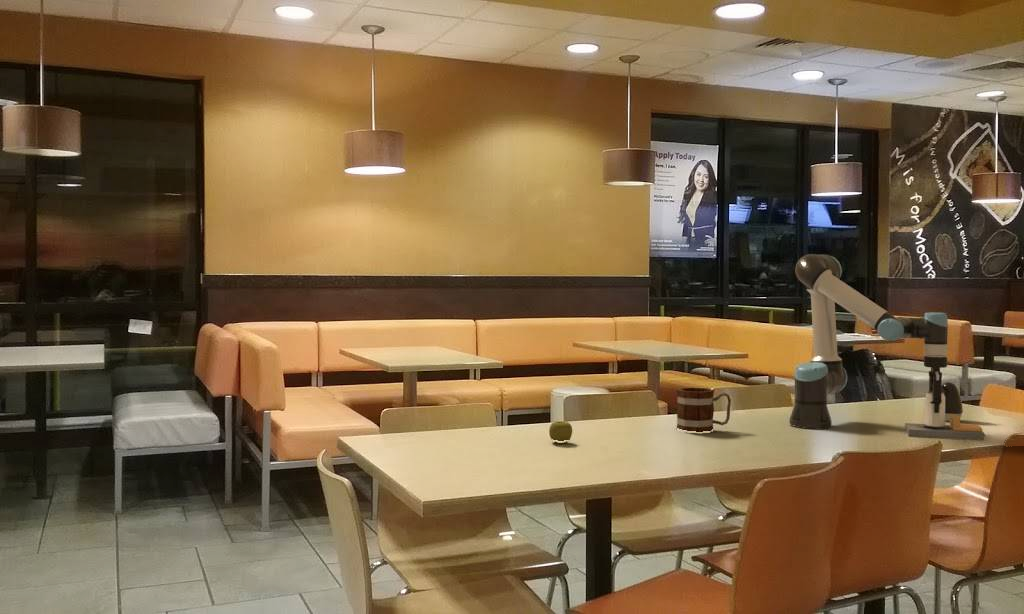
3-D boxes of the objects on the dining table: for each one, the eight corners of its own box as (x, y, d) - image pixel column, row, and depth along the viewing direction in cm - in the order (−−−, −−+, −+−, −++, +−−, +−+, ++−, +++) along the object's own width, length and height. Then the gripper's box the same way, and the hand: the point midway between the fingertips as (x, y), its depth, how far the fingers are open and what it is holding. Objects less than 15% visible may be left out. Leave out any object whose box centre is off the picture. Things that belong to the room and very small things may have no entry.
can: (940, 424, 328) (941, 391, 328) (947, 427, 322) (948, 393, 321) (922, 424, 329) (922, 391, 328) (928, 427, 322) (929, 393, 322)
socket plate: (908, 436, 322) (908, 429, 322) (904, 429, 335) (904, 423, 335) (984, 440, 314) (984, 433, 314) (977, 433, 328) (977, 426, 327)
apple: (563, 446, 302) (563, 424, 302) (544, 443, 307) (544, 422, 307) (576, 443, 308) (577, 422, 308) (558, 440, 313) (558, 419, 313)
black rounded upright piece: (928, 420, 357) (929, 381, 356) (941, 417, 363) (942, 379, 363) (954, 423, 349) (955, 384, 348) (967, 421, 355) (968, 382, 355)
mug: (679, 434, 326) (679, 392, 325) (673, 427, 339) (673, 387, 339) (734, 434, 325) (735, 392, 325) (726, 427, 339) (727, 387, 338)
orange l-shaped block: (953, 430, 319) (954, 417, 319) (950, 426, 328) (950, 413, 328) (982, 431, 317) (982, 418, 316) (977, 427, 325) (978, 414, 325)
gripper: (951, 358, 314) (950, 425, 315) (943, 353, 333) (942, 416, 333) (927, 358, 316) (926, 424, 317) (920, 353, 335) (920, 415, 336)
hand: (934, 420), depth 325 cm, fingers closed on can, 6 cm apart
